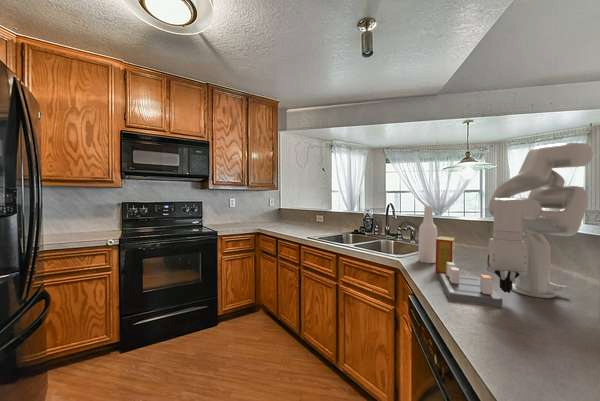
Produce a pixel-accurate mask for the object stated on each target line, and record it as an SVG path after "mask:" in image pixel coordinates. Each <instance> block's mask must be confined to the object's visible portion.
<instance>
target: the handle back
mask: <svg viewBox="0 0 600 401" xmlns="http://www.w3.org/2000/svg"><path fill="white" fill-rule="evenodd" d="M450 267H456V263H455V264H454V263H453V262H447V265H446V274H447V276H448V277H450Z"/></svg>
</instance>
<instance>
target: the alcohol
mask: <svg viewBox="0 0 600 401" xmlns="http://www.w3.org/2000/svg"><path fill="white" fill-rule="evenodd" d="M423 207H424V211H423V220H422V222H421V224H420V226H419V228H418V256H417V257H418V261H419V260H420V261H422V262H421V263H423V262H425V263H424V264H429V263H433V264H436V239H437V238H438V229H437V228H438V227H437V226H436V224H435V223H434V216H433V205H424V206H423ZM420 261H419V262H420Z"/></svg>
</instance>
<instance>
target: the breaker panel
mask: <svg viewBox="0 0 600 401" xmlns="http://www.w3.org/2000/svg"><path fill="white" fill-rule="evenodd" d="M438 274H439V282H440V284H441V286H442V288H443V290H444V292H445V294H446V296H447V298H448V301H451V302H453V301H454V302H460V303H461V302H462V303H468V304H474V305H476V304H477V305H483V306H491V307H498V308H503V302H504V301H503V298H502V297H501V296H500V295H499V294H498V293H497V292H496V291H495V290H494V289H493V290H492V295H490V294H483V293H482V291H481V290H480V276H473V275H472V276H471V275H464V274H463V275H461V274H460V275H459V284H456V283H451V281H450V277H448V276H447V274H443V273H438Z"/></svg>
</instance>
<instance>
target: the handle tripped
mask: <svg viewBox="0 0 600 401" xmlns="http://www.w3.org/2000/svg"><path fill="white" fill-rule="evenodd" d="M479 277H480V290H481V291H482V293H483V294H490V295H492V290H494V287H493V284H494V278H492V276H490V275H489V274H480V276H479Z"/></svg>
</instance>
